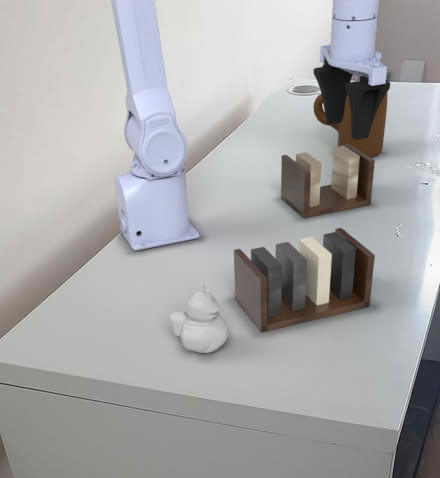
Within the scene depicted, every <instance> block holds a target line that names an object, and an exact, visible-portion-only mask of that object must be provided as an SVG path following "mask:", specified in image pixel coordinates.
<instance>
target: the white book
mask: <svg viewBox="0 0 440 478" xmlns="http://www.w3.org/2000/svg"><path fill="white" fill-rule="evenodd" d="M298 252H300V253H301V254H302V255H303V256H304V257H305V258H306V259H307V270H306V295H307V296H308V297H309V298H310V299H311V300H312V301H313V302H314V303H315V305H322V304H326V303H329V293H330V276H331V260H332V254H331V253H330V252H329V251H328V250H327V249H326V248H324V247H323V244H322V243H320V242H319V241H318V240H317V239H316V238H315V237H314V236H309V237H304V238H299V250H298Z"/></svg>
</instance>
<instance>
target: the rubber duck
mask: <svg viewBox="0 0 440 478" xmlns="http://www.w3.org/2000/svg"><path fill="white" fill-rule="evenodd" d="M220 310H221V306H220V304H219V302H218V301H217V300H216V298H215V297H214V296H213V294H212V292H211V291H210V290H209V289H208V288H207V287H206V286H205V282H204V280H202V282H201V285H200V286H199V288H198V289H196V291H194V292H192V293H191V294H190V295H189V297H188V298H187V300H186V301H185V311H186V312H185V311H182V310H174V311H172V312H171V313H170V314H169V316H168V317H169V318H168V319H169V322H170V323H171V326H172V334H173V335H174V336H176V337H180V339H181V343H182V346H183V347H184V349H185V350H188V351H192V352H195V353H201V354H209V353H212V352H215V351H217V350H218V349H219V348H220V347H222V346H223V345H224V344H225V343H226V341H227V339H228V338H229V335H230V333H229V327H228V325H227V323H226V321H225V320H224V318H223V316H222V315H221V314H220V313H219V311H220Z"/></svg>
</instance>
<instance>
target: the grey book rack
mask: <svg viewBox="0 0 440 478" xmlns="http://www.w3.org/2000/svg"><path fill="white" fill-rule="evenodd" d="M322 237H323V238H322V239H323V240H322V246H323V247H324V248H326V249H327V250H328V251H329V252H330V253H331V254H332V260H331V276H330V293H329V303H326V304H322V305H315V303H314V302H313V301H312V300H311V299H310V298H309V297H308V296H307V295H306V270H307V259H306V258H305V257H304V256H303V255H302V254H301V253H300V252H299V250H298V249H296V248H295V247H294V246H293V244H291V243H290V242H289V241H285V242H280V243H275V256H274V255H273V254H271V252H270V251H269V250H268V249H267V248H266V247H265V246H259V247H255V248H251V249H250V257H248V256H247V255H246V254H245V252H244V251H243V250H242V249H241V248H236V249H233V269H234V271H233V272H234V297H235V299H234V300H235V302H236V303H237V304H238V306H239V307H240V308H241V309H242V311H243V312H244V313H245V314H246V316H247V317H248V318H249V320H250V321H251V322H252V323H253V324H254V326H255V327H256V328H257V330H259V332H260V333H264V332H268V331H273V330H277V329H281V328H286V327H289V326H294V325H298V324H302V323H307V322H311V321H315V320H319V319H324V318H327V317H332V316H336V315H341V314H344V313H349V312H353V311H357V310H358V311H359V310H361V309H366V308H370V307H371V296H372V287H373V278H374V277H373V276H374V268H375V258H376V255H375V254H374V253H373V252H372V251H371V250H369V248H367V247H366V246H364V244H362V243H361V242H359V241H358V240H357V239H356V238H355V237H353V236H352V235H351V234H350V233H348V232H347V231H346V230H345V229H344V228H342V227H337V228H335V229H334V231H333V232H329V233H324V234H323V236H322Z"/></svg>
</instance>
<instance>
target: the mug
mask: <svg viewBox="0 0 440 478" xmlns="http://www.w3.org/2000/svg"><path fill="white" fill-rule="evenodd" d="M388 94H389V93H388V92H387V93H386V95H385V96H384V98H383V100H382V102H381V104H380V106H379V108H378V110H377V112H376V115H375V118H374V121H373V124H372V127H371V130H370V133H369V136H368V138H364V139H359V140H354V139H353V138H352V132H351V108H350V102H349V97H348V94H347V96H346V103H345V110H344V116H343V119H342V122H341V123H335V124H327V121H326V116H325V110H324V104H323V99H322V94H321V93H320V94H318V96H316V98H315V99H314V102H313V106H312V107H313V114H314V116H315V119H316V120H317V121H318V122H319V123H321V124H322V125H324V126H327V127H328V126H329V127H331V128H333V129H334V130H335V131H336V132H337V133H338V134H337V147H338V146H344V144H349V145H351V146H353V147H354V148H356V149H358V150H359V151H361V152H362V153H364V154H366V155H367V156H369V157H370V158H374V157H376V156H379V155H380V154H381V153H382V150H383V147H384V139H385V131H386V130H385V129H386V121H387V110H388Z"/></svg>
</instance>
